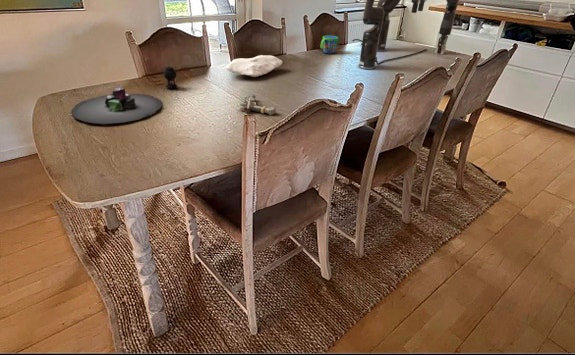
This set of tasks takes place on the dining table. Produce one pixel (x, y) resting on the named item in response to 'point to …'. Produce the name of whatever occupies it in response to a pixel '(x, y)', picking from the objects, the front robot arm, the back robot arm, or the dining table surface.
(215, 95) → the dining table surface
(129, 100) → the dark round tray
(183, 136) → the dining table surface
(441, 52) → the block
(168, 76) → the gumball machine
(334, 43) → the snack cup
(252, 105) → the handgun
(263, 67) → the crumpled cloth
